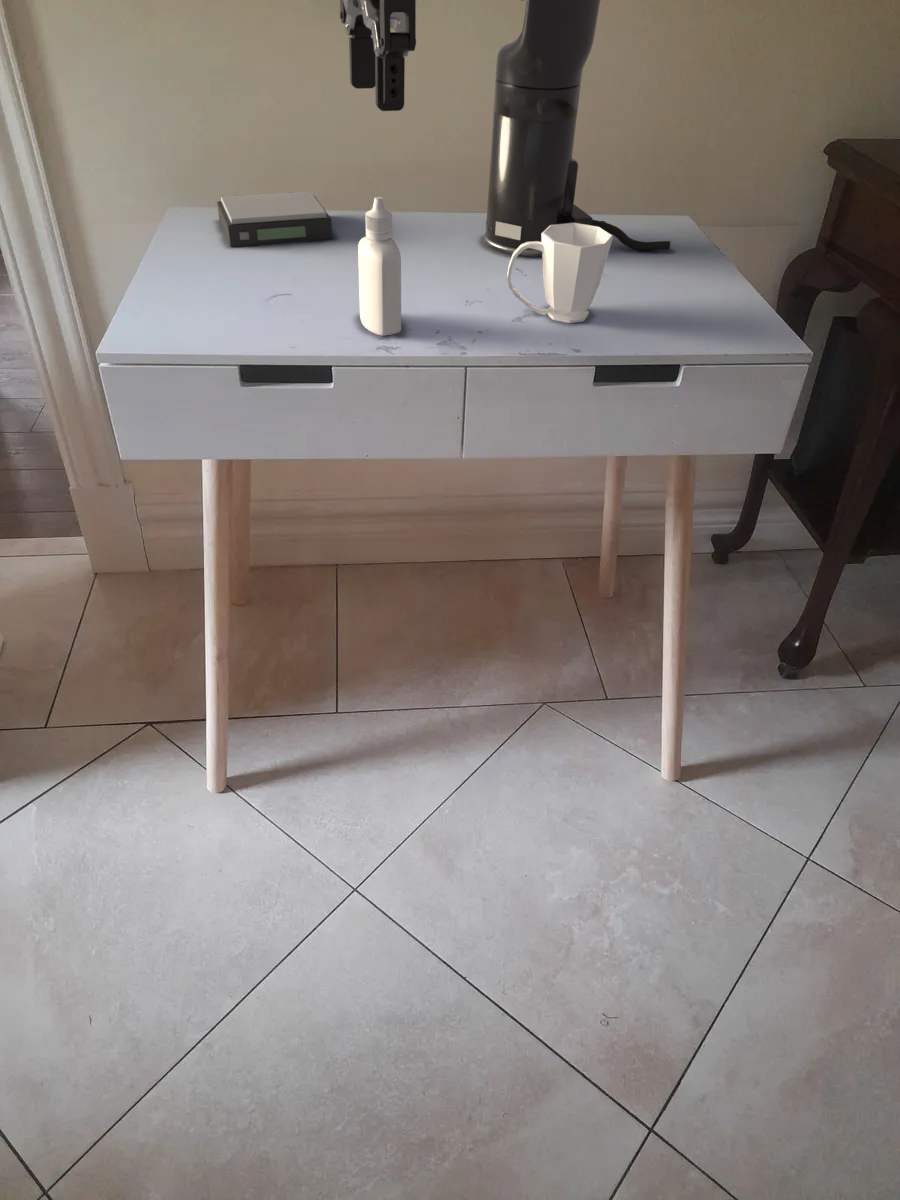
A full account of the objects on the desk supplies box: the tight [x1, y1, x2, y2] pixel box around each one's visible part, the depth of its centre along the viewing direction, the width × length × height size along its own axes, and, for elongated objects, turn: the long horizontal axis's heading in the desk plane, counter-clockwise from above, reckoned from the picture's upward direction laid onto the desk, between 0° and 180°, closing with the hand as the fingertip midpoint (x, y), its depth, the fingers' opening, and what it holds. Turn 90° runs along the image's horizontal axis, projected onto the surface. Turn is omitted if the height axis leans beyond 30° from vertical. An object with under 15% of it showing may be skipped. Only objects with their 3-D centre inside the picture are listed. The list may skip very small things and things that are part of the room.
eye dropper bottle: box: [357, 196, 402, 337], centre depth 84 cm, size 4×6×12 cm
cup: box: [506, 223, 614, 324], centre depth 89 cm, size 7×10×8 cm
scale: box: [216, 190, 333, 248], centre depth 106 cm, size 12×9×3 cm
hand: (376, 98), depth 75 cm, fingers open, 8 cm apart
